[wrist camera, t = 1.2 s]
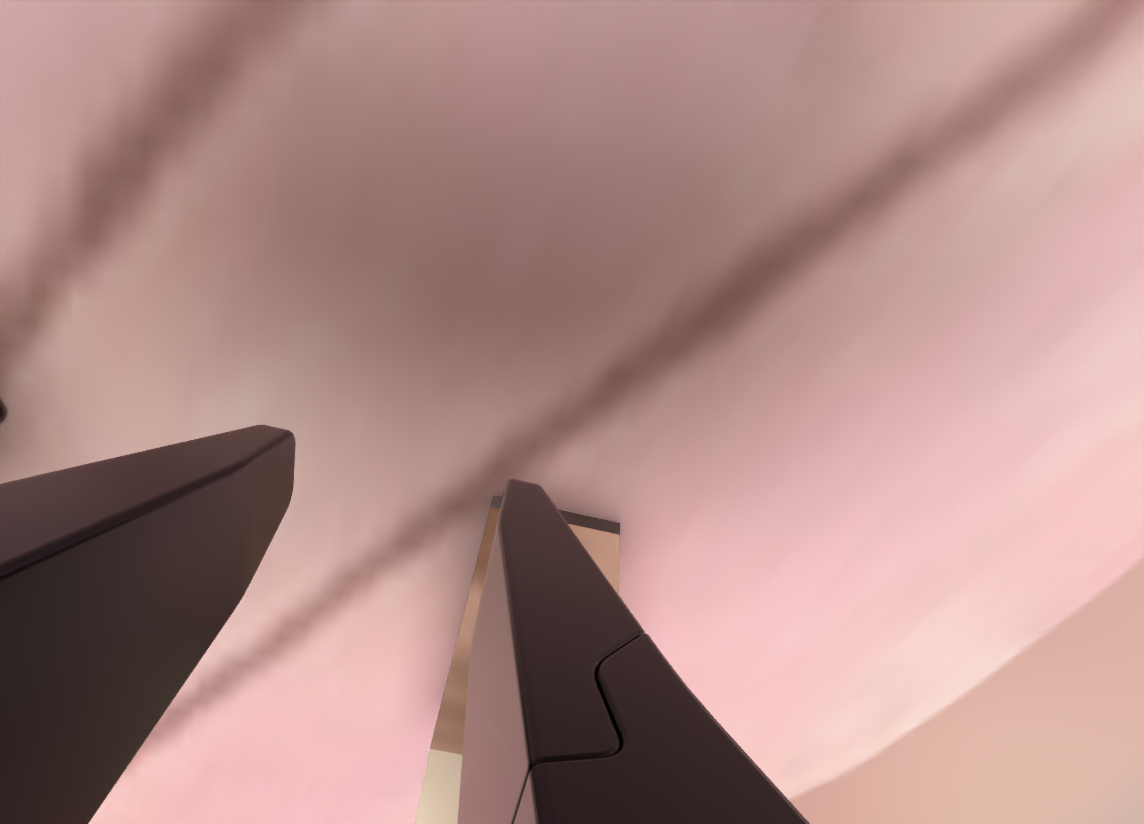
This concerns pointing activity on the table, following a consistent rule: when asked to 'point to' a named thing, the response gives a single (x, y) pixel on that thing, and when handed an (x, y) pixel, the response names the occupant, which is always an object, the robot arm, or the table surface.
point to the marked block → (447, 742)
